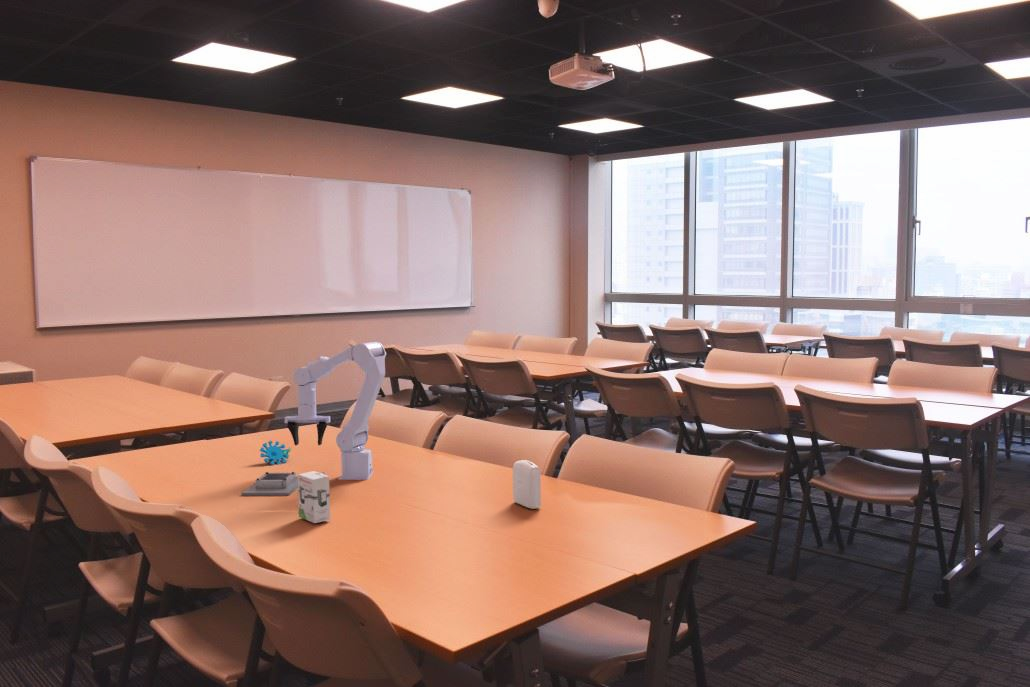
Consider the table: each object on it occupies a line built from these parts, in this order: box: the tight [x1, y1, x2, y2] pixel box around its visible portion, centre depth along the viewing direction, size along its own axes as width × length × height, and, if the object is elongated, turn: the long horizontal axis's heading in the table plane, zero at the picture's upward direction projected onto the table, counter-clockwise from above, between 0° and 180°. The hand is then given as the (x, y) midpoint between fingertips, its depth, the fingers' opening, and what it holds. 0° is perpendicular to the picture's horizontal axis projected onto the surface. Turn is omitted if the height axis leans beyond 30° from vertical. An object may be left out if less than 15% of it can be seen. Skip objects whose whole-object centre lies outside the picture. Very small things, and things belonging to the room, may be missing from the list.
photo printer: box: [512, 459, 542, 510], centre depth 228 cm, size 10×4×12 cm, turn 29°
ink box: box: [297, 470, 331, 524], centre depth 217 cm, size 9×5×12 cm, turn 44°
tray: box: [241, 471, 298, 497], centre depth 251 cm, size 14×20×4 cm
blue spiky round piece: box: [259, 440, 292, 466], centre depth 283 cm, size 11×6×10 cm
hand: (308, 444), depth 268 cm, fingers open, 7 cm apart
